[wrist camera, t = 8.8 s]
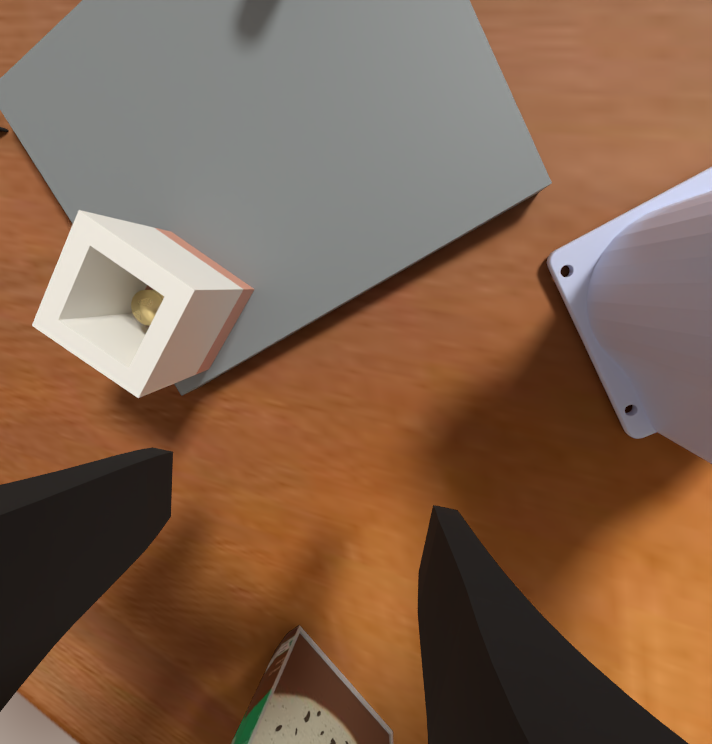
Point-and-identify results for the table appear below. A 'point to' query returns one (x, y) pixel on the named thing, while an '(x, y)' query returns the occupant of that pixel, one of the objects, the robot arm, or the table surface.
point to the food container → (308, 702)
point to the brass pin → (146, 305)
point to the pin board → (278, 139)
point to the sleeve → (114, 296)
